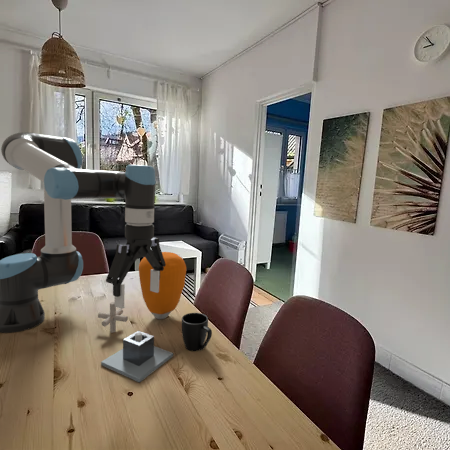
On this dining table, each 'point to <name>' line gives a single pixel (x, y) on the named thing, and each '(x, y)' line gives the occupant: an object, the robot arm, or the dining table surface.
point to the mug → (195, 331)
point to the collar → (138, 348)
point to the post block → (134, 371)
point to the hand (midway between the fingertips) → (138, 298)
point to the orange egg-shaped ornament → (163, 285)
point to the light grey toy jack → (112, 317)
